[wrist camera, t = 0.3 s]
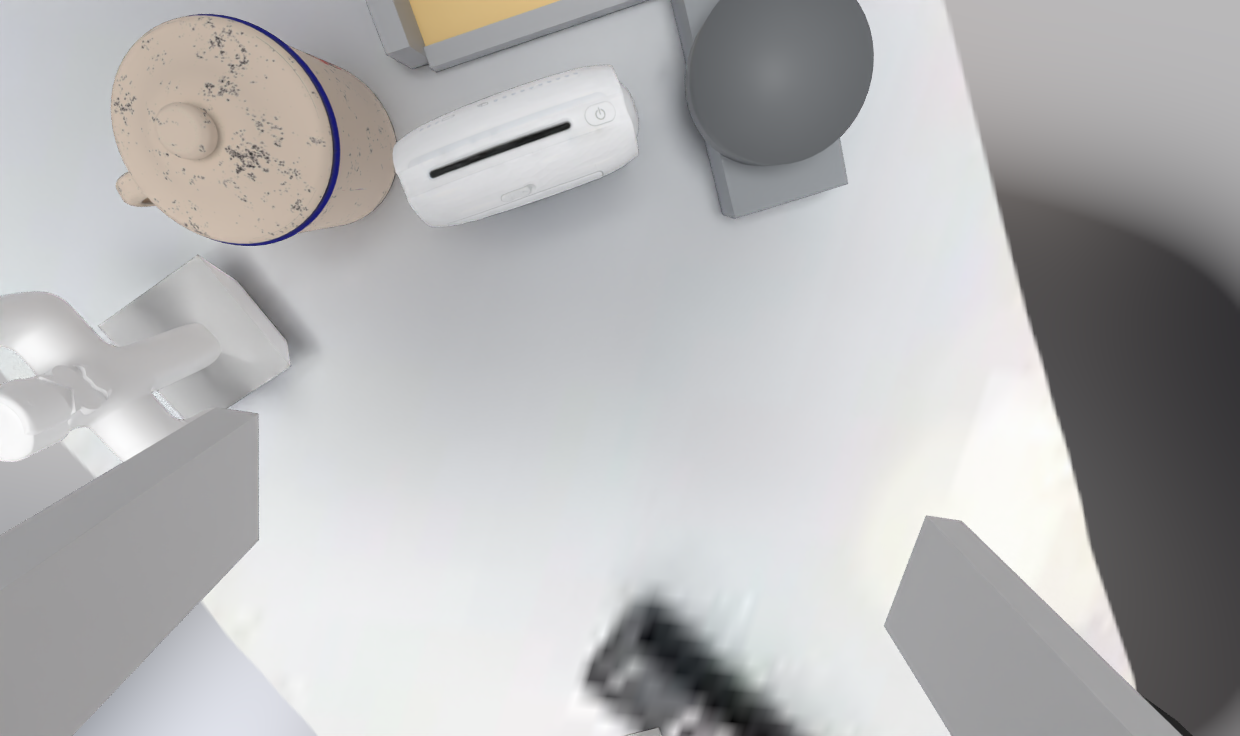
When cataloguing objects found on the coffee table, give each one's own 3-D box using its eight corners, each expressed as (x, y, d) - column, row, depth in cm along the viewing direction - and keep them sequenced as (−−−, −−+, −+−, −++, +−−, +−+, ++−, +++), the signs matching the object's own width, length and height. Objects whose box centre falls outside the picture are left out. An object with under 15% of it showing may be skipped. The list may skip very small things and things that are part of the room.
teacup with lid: (356, 29, 32) (220, -53, 20) (431, 197, 34) (346, 206, 23) (157, 112, 33) (-76, 77, 21) (244, 269, 35) (77, 311, 24)
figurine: (243, 421, 38) (24, 566, 24) (133, 296, 36) (-187, 375, 21) (332, 363, 37) (159, 479, 23) (225, 230, 35) (-45, 267, 20)
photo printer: (616, 86, 33) (621, 33, 21) (640, 164, 34) (658, 158, 22) (441, 149, 33) (351, 133, 22) (471, 224, 35) (402, 247, 23)
